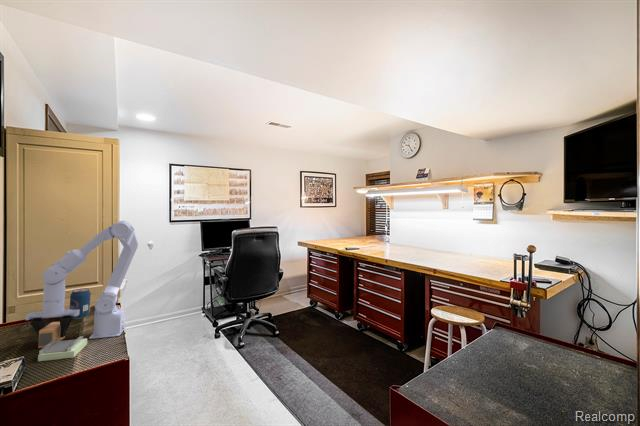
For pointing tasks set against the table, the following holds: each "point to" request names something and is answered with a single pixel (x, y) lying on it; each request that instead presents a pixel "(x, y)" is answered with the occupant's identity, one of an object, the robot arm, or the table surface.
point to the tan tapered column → (49, 334)
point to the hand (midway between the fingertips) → (52, 337)
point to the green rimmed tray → (62, 349)
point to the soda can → (80, 302)
